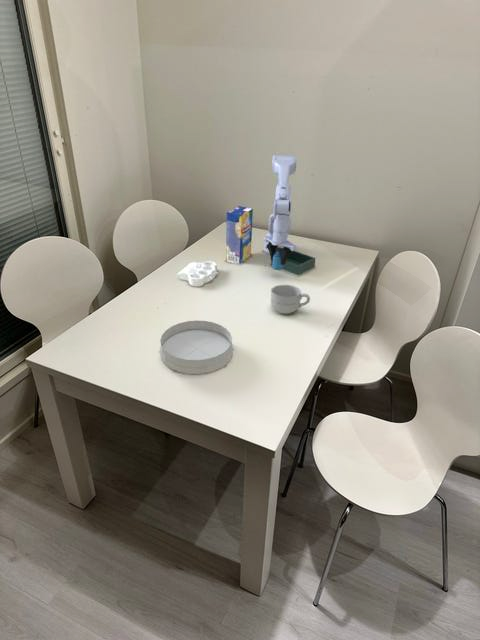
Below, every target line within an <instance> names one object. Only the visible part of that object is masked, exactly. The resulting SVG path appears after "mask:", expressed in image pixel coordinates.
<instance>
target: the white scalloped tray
mask: <svg viewBox="0 0 480 640" xmlns="http://www.w3.org/2000/svg"><path fill="white" fill-rule="evenodd" d="M218 274H219V272H218V264H217V263H216V262H214V261H210V260H208V261H204V262H195V261H194V262H190V263H189V264H188V265H186V266H185V267H184V268H183V269H182V270H181V271H179V272H178V273H177V274H176V275H177V278H178V279H180V280H181V281H187V282H188V283H189V285H190V286H191V287H195V288H198V287H199V288H200V287H203V286H204V285H205V284H208V283H210V282H212V281H213V280H214V279H215V278H216V275H218Z"/></svg>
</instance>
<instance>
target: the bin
mask: <svg viewBox="0 0 480 640" xmlns="http://www.w3.org/2000/svg"><path fill="white" fill-rule="evenodd" d="M316 258H317V257H314V256H311V255H308V254H305V253H302V252H299V251H297V250H294V251H291V252H290V254H289V256H288V258H287V260H286V263H285V264H284V268H283V269H282V270H284V271H286V272H288V273H291V274H294V275H297V276H300V275H302V274H303V273H305V272H307V271H309V270H311V269H313V268H315V267H316ZM272 264H273V261H271V260H270V266H272Z"/></svg>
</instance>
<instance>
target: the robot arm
mask: <svg viewBox="0 0 480 640" xmlns="http://www.w3.org/2000/svg"><path fill="white" fill-rule="evenodd" d="M271 161H272V163H271V172H272V174H274V175H276V177H277V185H276V187H275V194H274V195H275V196H274V197H275V198H274V201H273V211H272V214H270V215H269V219H268V228H267V229H268V230H267V233H266V234H265V235H264V236H263V242H264V248H263V251H264V252H266V253H268V254H269V256H270V262H271V261H273V254H275V252H276V248H278V247H280V248H282V249H280V252H281V265H284V264H285V263H286V260H287V258H288V256H289V254H290V252H291V251H297V244H294V243H292V242H290V241H289V240H288V235H290V233H291V226H292V224H291V223H292V222H291V221H292V219H291V216H290V215H291V213H292V198H291V186H290V185H289V179H290V176H292V175H295V173H296V171H297V161H298V157H297V156H296V155H276V154H274V155H272V160H271Z"/></svg>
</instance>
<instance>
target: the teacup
mask: <svg viewBox="0 0 480 640" xmlns="http://www.w3.org/2000/svg"><path fill="white" fill-rule="evenodd" d="M270 293H271V294H270V305H271V307H272V308H273V310H274V311H276V312H277V313H279V314H284V315H289V314H292V313H294V312H296V311H297V310H298V309H300V308H301V307H305V306H306V305H308V304H309V303H310V300H311V297H310V295H309V294H308V293H302V290H301V289H300V288H299V287H297V286H295V285H290V284H278V285H274V286H272V288H271V289H270ZM302 298H306V301H304V302H301V300H302Z"/></svg>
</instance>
